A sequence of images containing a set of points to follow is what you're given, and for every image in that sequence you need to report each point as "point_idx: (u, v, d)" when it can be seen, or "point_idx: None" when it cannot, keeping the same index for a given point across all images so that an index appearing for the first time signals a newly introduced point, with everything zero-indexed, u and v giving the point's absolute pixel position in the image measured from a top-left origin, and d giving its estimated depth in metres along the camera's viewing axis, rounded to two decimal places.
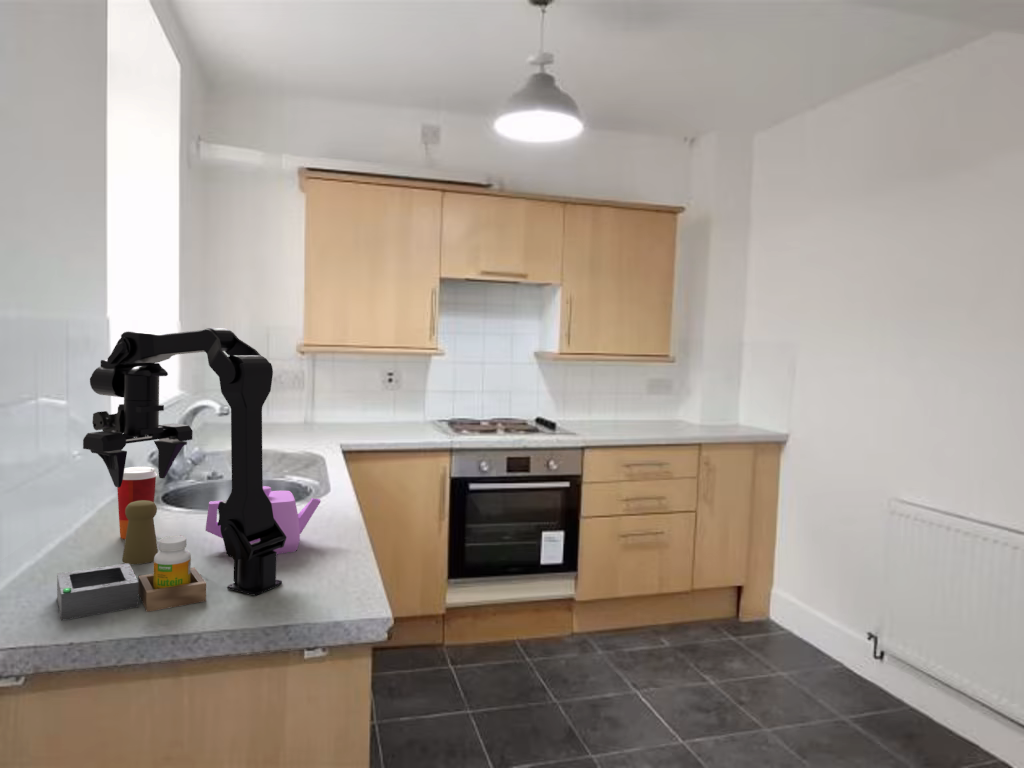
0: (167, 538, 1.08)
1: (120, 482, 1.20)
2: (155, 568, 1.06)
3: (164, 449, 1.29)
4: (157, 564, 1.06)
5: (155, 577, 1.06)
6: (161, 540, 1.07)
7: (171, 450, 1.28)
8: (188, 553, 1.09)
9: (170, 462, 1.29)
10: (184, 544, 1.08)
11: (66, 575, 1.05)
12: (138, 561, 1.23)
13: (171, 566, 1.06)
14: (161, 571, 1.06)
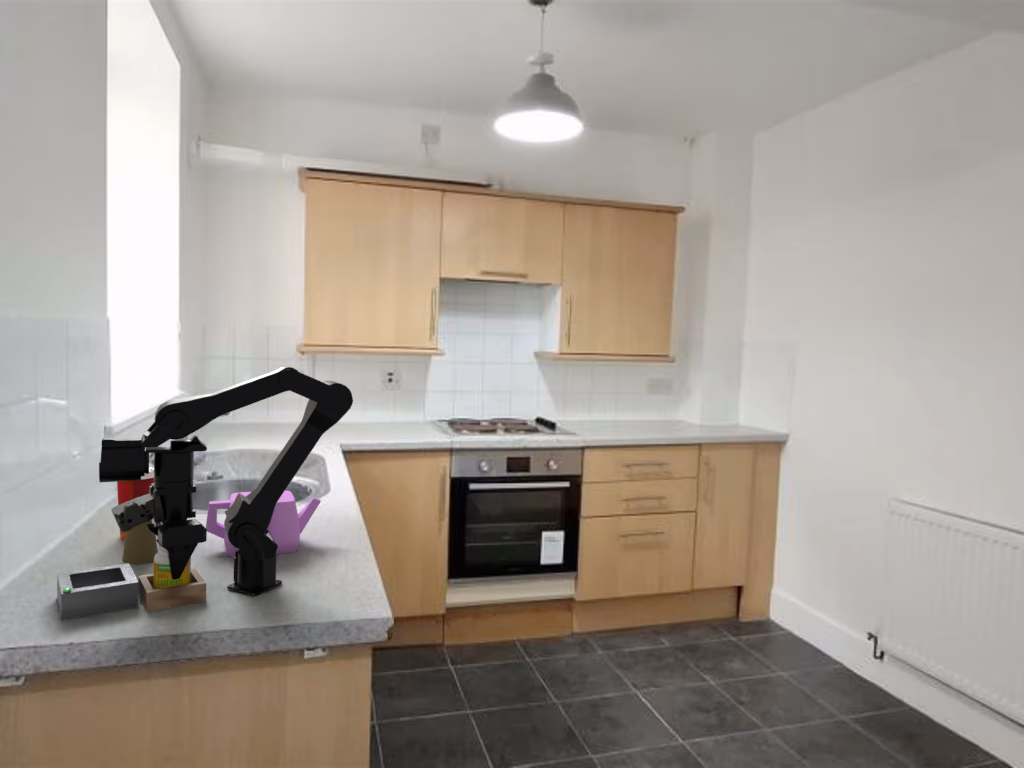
0: None
1: None
2: (155, 568, 1.06)
3: None
4: (157, 564, 1.06)
5: (155, 577, 1.06)
6: None
7: None
8: None
9: None
10: None
11: (66, 575, 1.05)
12: (138, 561, 1.23)
13: None
14: (161, 571, 1.06)
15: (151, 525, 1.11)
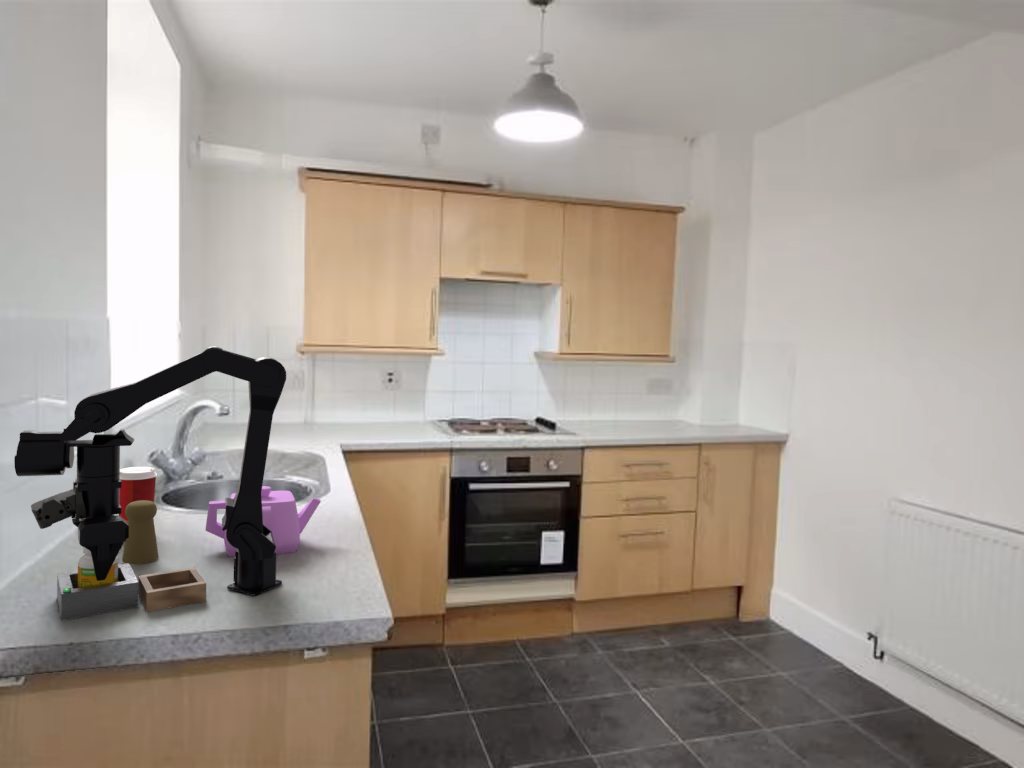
0: None
1: None
2: (79, 572, 1.03)
3: None
4: (80, 568, 1.03)
5: (79, 581, 1.03)
6: None
7: None
8: None
9: None
10: None
11: (66, 575, 1.05)
12: (138, 561, 1.23)
13: None
14: (85, 575, 1.02)
15: (76, 519, 1.08)
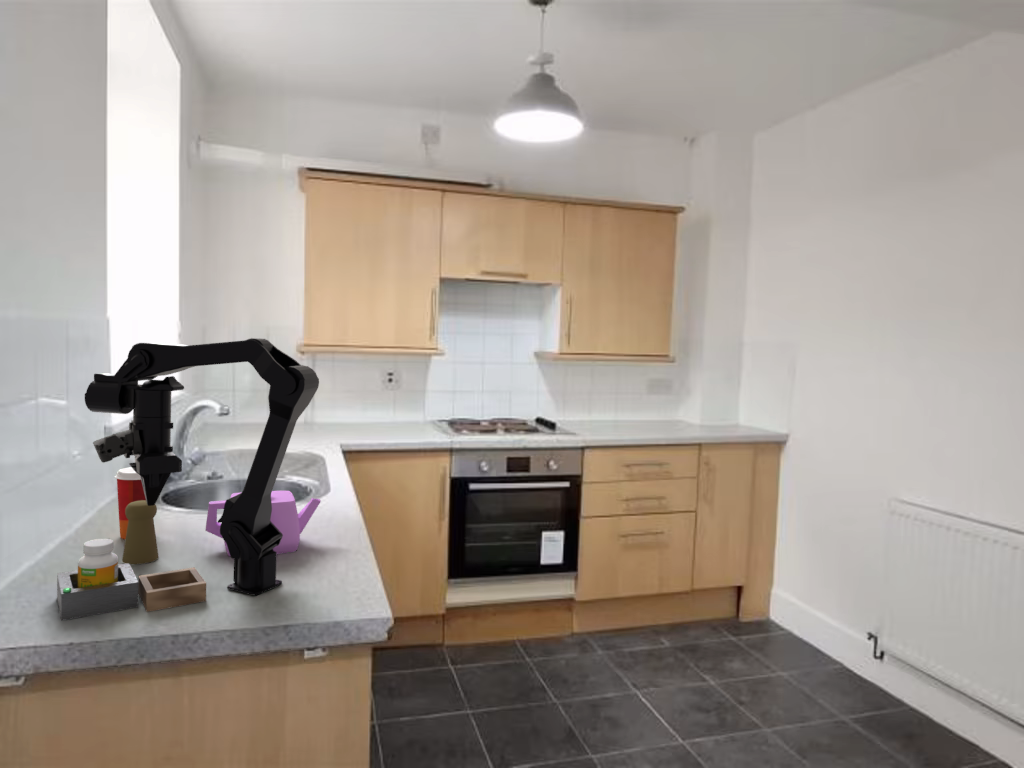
0: (93, 541, 1.05)
1: (156, 499, 1.16)
2: (79, 572, 1.03)
3: None
4: (80, 568, 1.03)
5: (79, 581, 1.03)
6: (86, 543, 1.04)
7: None
8: (114, 557, 1.05)
9: None
10: (110, 547, 1.05)
11: (66, 575, 1.05)
12: (138, 561, 1.23)
13: (95, 570, 1.03)
14: (85, 575, 1.02)
15: (134, 464, 1.15)
